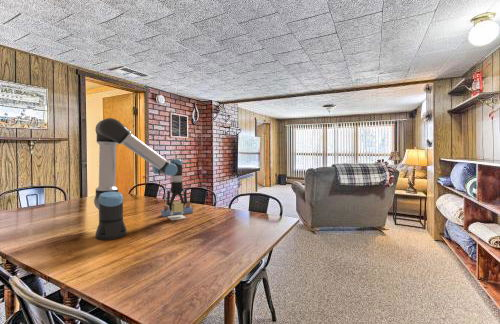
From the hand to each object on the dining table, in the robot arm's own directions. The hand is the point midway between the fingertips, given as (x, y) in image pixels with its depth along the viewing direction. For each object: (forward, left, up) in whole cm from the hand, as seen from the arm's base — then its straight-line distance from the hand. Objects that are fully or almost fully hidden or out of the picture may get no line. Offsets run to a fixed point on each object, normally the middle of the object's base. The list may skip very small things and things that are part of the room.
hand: (176, 214), depth 176 cm
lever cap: (0, 0, +3) cm, 3 cm away
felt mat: (0, 0, -2) cm, 2 cm away
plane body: (+10, -4, -2) cm, 11 cm away
